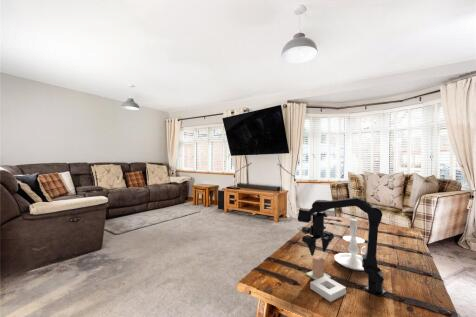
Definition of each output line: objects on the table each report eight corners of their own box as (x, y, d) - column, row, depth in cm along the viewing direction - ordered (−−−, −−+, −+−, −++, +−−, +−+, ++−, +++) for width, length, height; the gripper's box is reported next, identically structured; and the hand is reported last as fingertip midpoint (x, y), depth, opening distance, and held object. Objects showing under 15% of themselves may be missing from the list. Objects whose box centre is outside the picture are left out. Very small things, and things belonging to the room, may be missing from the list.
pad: (316, 269, 117) (316, 269, 117) (331, 277, 109) (331, 276, 109) (305, 274, 113) (305, 273, 113) (319, 282, 105) (319, 281, 105)
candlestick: (384, 266, 122) (384, 218, 122) (363, 279, 108) (363, 225, 108) (348, 253, 139) (348, 211, 139) (327, 263, 125) (327, 216, 125)
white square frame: (325, 281, 106) (325, 275, 106) (345, 293, 96) (345, 287, 96) (310, 288, 100) (310, 282, 100) (330, 301, 91) (330, 294, 91)
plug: (317, 272, 114) (317, 255, 114) (323, 275, 110) (323, 258, 110) (312, 274, 112) (312, 257, 112) (318, 277, 108) (318, 260, 108)
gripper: (317, 218, 123) (317, 244, 123) (294, 222, 114) (294, 251, 114) (334, 223, 113) (334, 251, 113) (310, 228, 104) (310, 259, 104)
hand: (318, 253), depth 111 cm, fingers open, 9 cm apart
